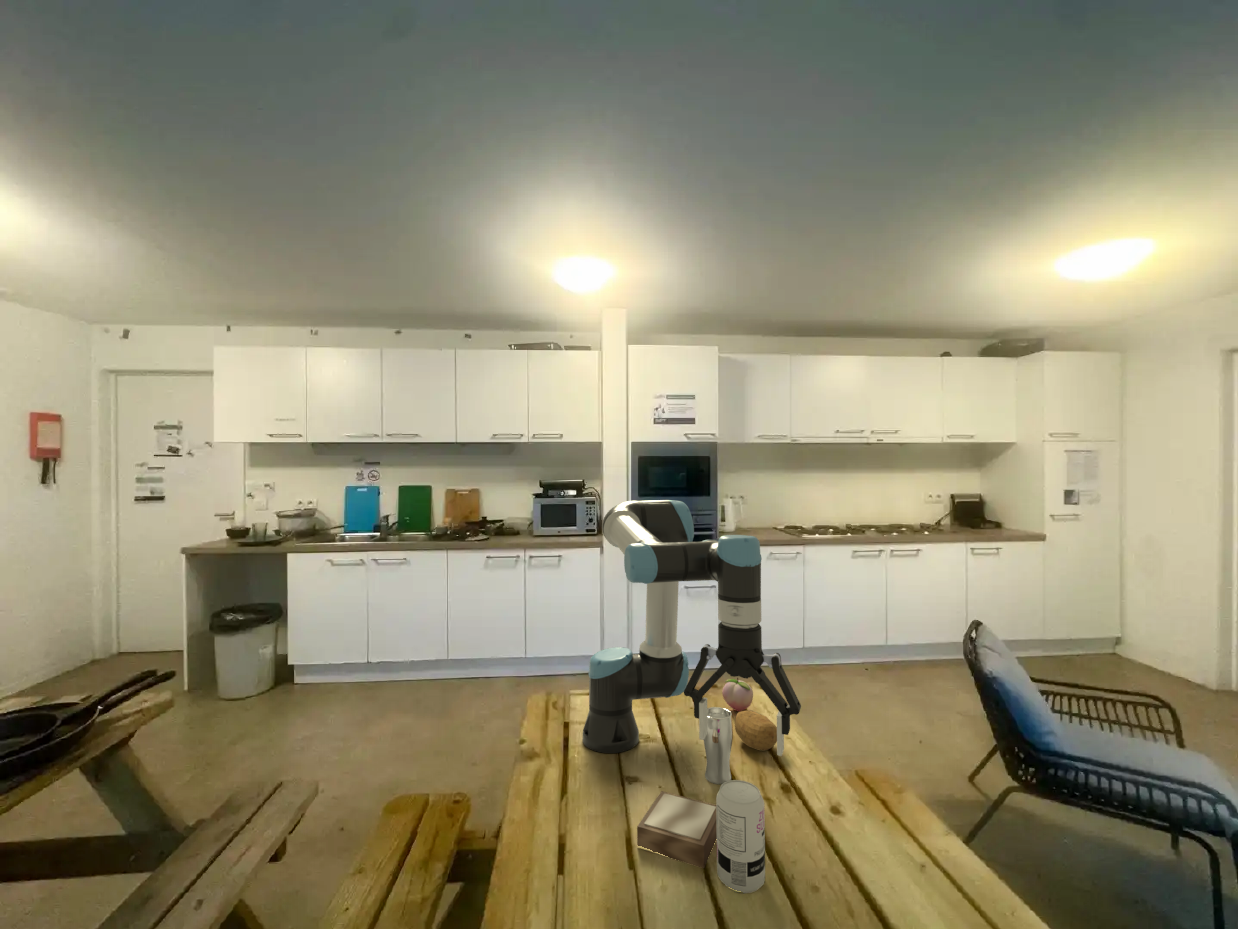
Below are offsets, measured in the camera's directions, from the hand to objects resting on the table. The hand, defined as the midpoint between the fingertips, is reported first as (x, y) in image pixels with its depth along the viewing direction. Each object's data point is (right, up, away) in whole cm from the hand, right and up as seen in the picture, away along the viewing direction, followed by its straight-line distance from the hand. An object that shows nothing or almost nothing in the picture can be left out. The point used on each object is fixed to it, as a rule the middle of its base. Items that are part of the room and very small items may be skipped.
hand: (740, 744), depth 95 cm
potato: (+14, -25, +46) cm, 54 cm away
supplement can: (0, -23, -1) cm, 23 cm away
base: (-9, -23, +10) cm, 27 cm away
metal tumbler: (+2, -24, +31) cm, 40 cm away
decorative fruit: (+15, -25, +68) cm, 74 cm away
